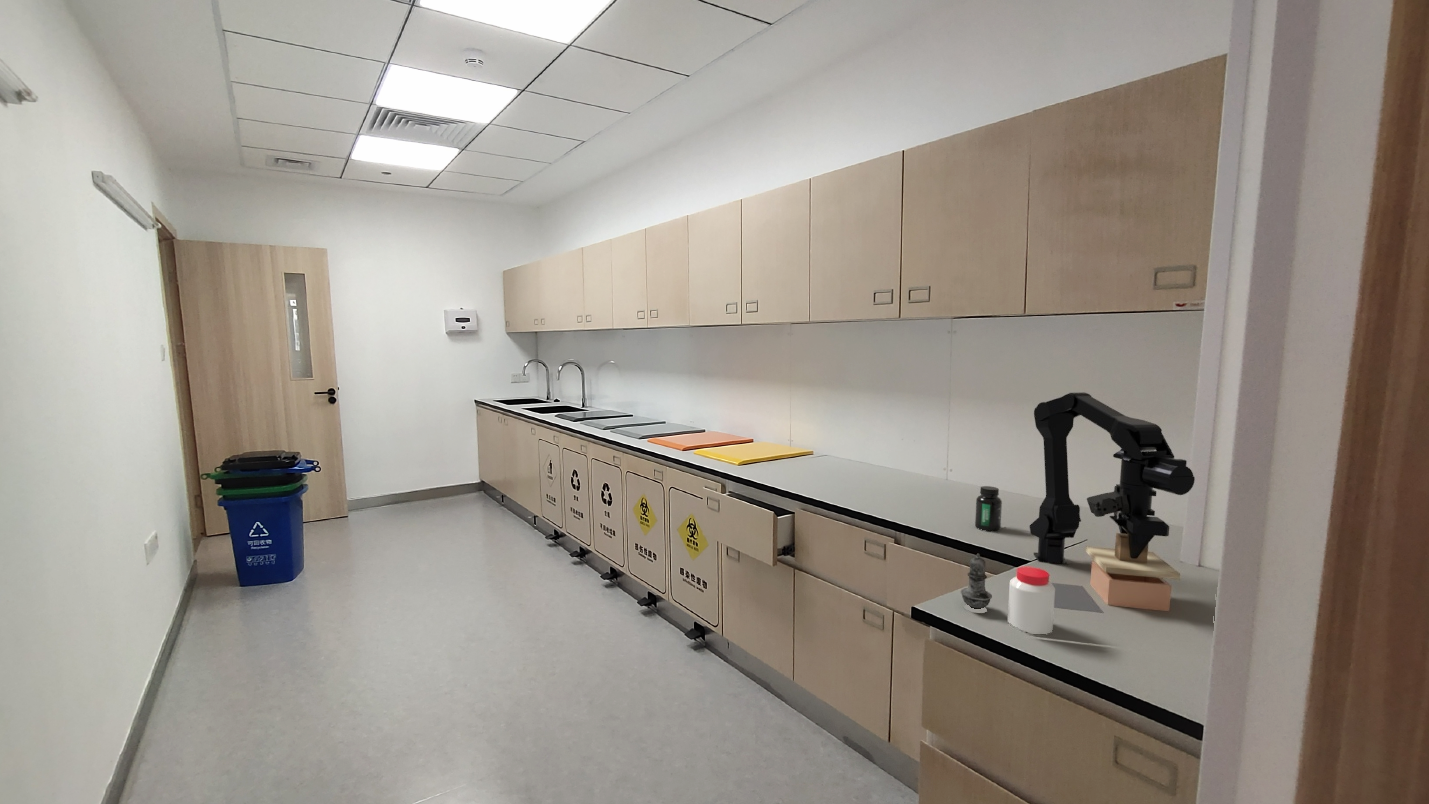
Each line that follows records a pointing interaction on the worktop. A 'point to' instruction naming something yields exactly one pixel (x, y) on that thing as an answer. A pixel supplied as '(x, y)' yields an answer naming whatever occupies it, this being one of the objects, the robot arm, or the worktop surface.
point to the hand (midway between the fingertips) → (1130, 555)
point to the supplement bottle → (988, 509)
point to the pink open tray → (1131, 589)
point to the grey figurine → (976, 585)
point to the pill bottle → (1031, 601)
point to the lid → (1131, 561)
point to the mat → (1074, 598)
